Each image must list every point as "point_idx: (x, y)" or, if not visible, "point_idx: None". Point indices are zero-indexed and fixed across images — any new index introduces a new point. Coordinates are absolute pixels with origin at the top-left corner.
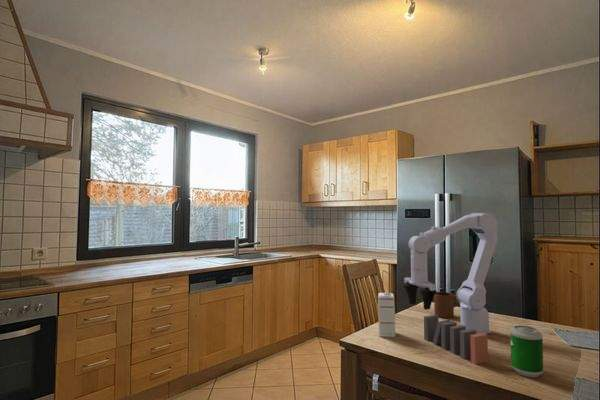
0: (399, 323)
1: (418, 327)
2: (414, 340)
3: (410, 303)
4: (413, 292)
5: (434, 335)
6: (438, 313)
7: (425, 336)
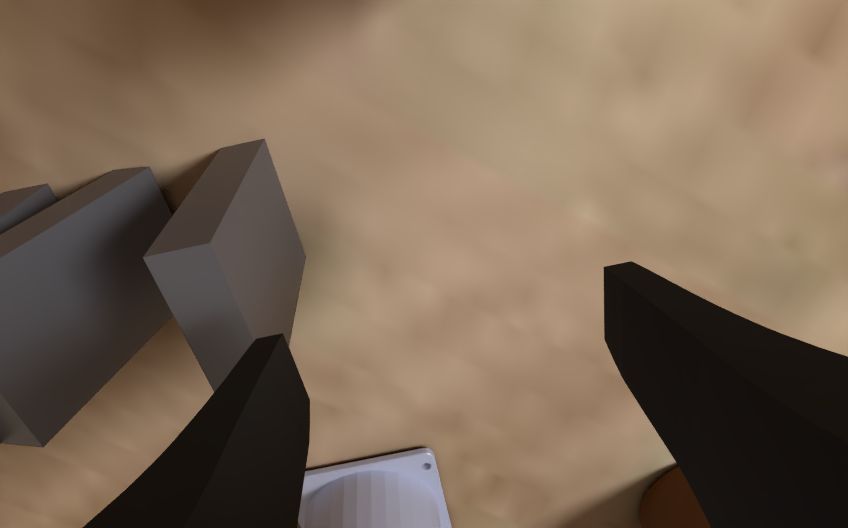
0: (736, 119)
1: (567, 237)
2: (247, 25)
3: (621, 266)
4: (716, 467)
5: (92, 200)
6: None
7: (240, 153)
